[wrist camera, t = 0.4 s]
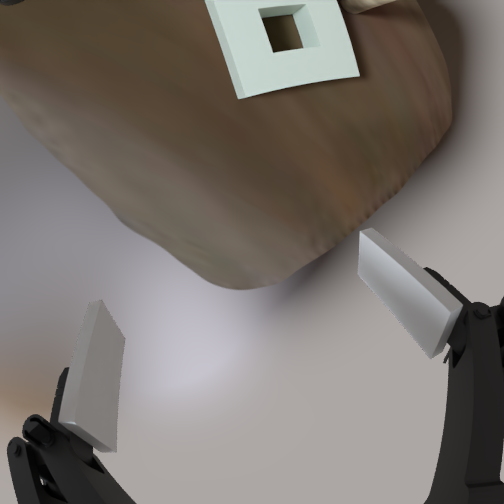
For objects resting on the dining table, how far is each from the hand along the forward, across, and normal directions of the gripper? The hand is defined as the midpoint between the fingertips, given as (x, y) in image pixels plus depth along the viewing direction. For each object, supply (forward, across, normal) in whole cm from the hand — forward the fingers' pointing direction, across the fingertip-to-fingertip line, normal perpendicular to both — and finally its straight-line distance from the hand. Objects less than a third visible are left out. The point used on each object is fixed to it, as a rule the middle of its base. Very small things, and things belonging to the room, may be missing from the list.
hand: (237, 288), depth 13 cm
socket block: (+27, +14, +17) cm, 35 cm away
